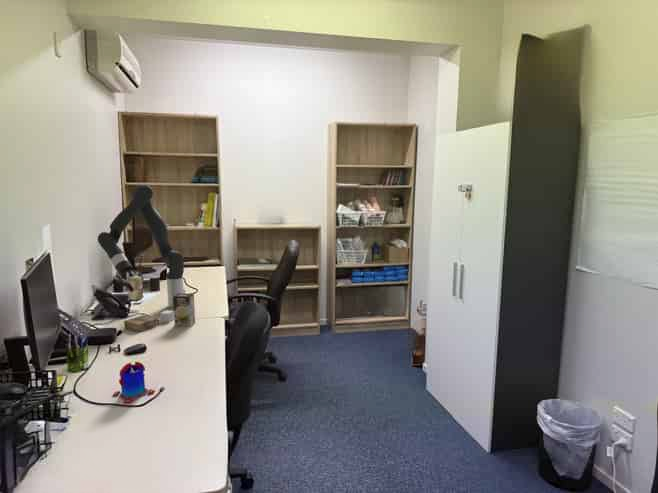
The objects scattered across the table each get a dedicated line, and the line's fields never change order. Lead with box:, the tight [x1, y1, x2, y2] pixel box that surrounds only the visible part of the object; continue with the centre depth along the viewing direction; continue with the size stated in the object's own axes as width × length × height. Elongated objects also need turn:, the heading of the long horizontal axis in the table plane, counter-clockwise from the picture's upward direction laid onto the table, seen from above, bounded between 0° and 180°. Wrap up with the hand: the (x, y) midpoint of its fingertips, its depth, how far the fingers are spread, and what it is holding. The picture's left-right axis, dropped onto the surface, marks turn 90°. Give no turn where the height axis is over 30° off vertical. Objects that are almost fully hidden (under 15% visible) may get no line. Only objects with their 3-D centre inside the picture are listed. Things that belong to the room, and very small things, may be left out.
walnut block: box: [123, 314, 158, 333], centre depth 229 cm, size 11×11×4 cm
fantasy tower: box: [111, 361, 156, 405], centre depth 158 cm, size 12×12×12 cm
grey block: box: [159, 309, 175, 323], centre depth 239 cm, size 5×5×5 cm
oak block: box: [127, 276, 144, 301], centre depth 227 cm, size 5×5×11 cm
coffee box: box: [173, 292, 196, 327], centre depth 232 cm, size 9×6×16 cm
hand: (137, 289), depth 226 cm, fingers closed on oak block, 5 cm apart
